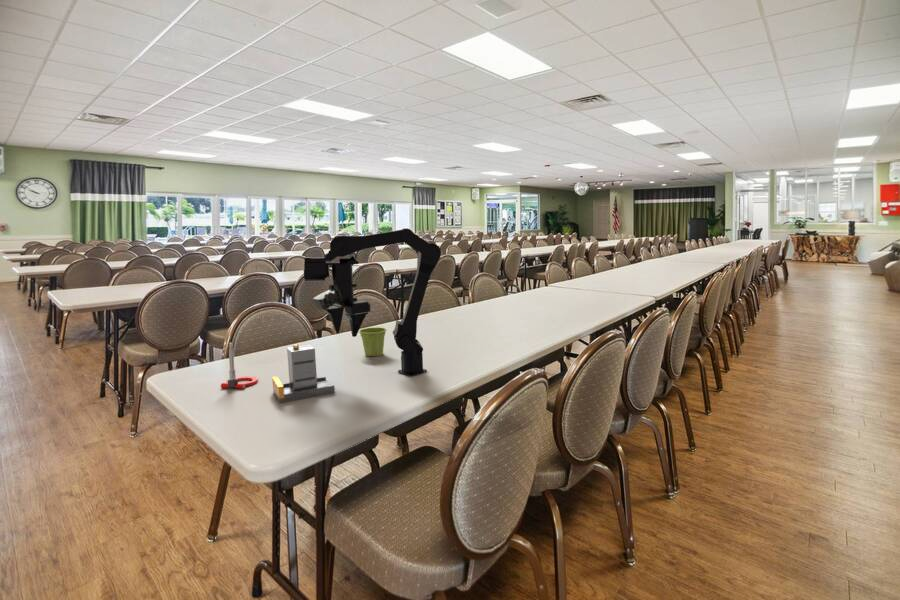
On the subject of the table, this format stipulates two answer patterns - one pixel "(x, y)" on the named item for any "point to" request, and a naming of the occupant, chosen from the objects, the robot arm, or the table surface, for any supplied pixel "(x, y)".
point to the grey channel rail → (286, 394)
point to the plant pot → (373, 340)
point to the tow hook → (233, 380)
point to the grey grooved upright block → (302, 367)
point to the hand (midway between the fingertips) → (345, 334)
